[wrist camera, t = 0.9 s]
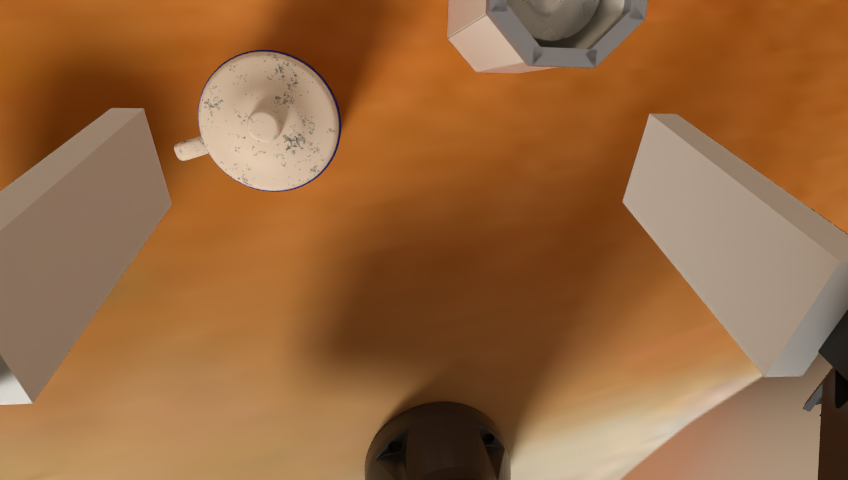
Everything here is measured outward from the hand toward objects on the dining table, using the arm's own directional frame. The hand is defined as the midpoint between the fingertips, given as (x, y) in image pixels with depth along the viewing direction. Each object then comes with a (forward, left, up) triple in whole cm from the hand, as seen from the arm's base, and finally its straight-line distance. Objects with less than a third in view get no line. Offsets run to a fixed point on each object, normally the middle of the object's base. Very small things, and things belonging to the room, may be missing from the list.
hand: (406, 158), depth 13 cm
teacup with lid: (-1, +8, -29) cm, 31 cm away
